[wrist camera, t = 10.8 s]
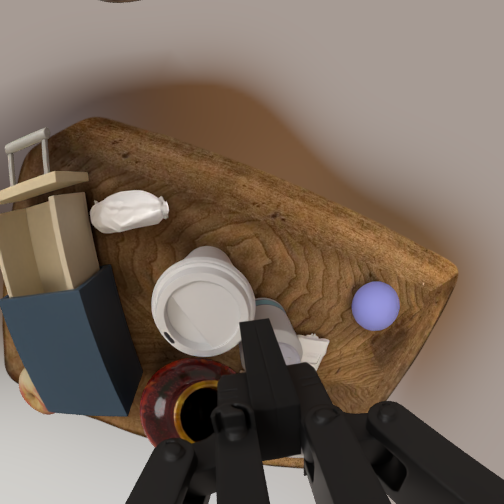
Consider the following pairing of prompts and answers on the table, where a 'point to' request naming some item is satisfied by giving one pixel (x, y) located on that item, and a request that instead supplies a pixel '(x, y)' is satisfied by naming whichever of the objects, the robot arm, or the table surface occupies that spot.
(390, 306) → the sphere
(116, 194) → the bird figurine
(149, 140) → the table surface
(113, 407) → the cabinet
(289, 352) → the beverage can
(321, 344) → the toy car
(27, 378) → the apple
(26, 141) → the drawer
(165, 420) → the vase
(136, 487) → the robot arm
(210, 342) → the coffee cup
